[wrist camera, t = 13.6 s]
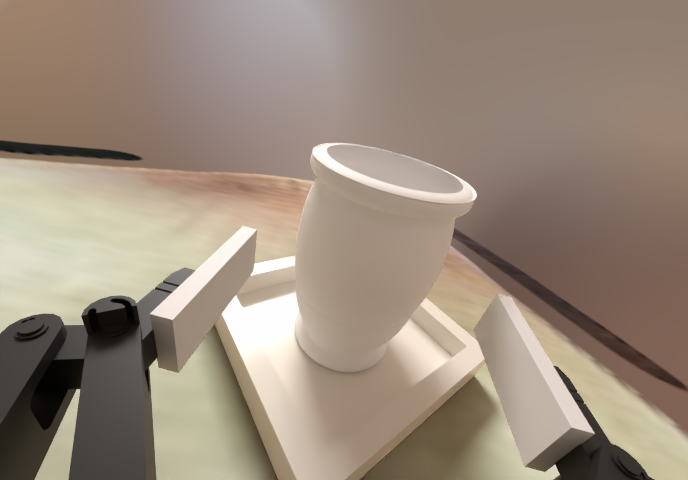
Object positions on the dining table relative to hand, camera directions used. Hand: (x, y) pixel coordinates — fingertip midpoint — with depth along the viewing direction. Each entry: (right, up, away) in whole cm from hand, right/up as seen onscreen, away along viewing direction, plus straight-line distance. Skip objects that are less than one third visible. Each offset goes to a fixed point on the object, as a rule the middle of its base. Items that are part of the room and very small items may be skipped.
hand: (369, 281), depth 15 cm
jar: (-2, -6, +10) cm, 11 cm away
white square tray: (-2, -7, +10) cm, 12 cm away
